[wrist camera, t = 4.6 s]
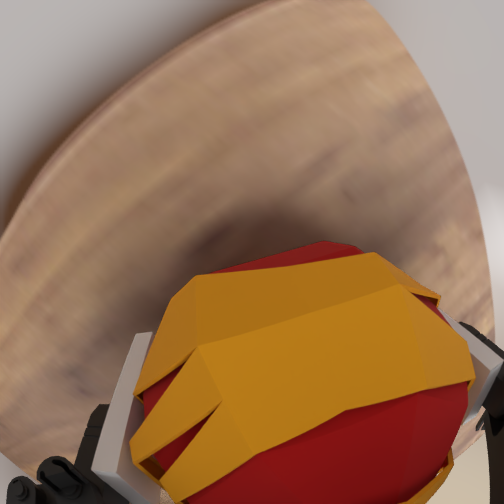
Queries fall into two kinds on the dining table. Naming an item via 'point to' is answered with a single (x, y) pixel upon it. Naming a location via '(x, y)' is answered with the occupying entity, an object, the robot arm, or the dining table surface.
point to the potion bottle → (303, 384)
